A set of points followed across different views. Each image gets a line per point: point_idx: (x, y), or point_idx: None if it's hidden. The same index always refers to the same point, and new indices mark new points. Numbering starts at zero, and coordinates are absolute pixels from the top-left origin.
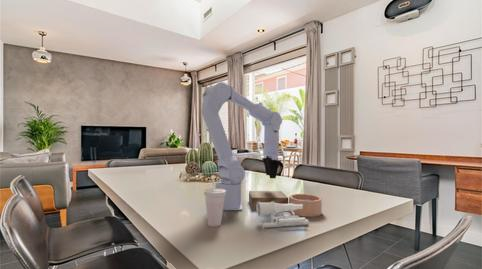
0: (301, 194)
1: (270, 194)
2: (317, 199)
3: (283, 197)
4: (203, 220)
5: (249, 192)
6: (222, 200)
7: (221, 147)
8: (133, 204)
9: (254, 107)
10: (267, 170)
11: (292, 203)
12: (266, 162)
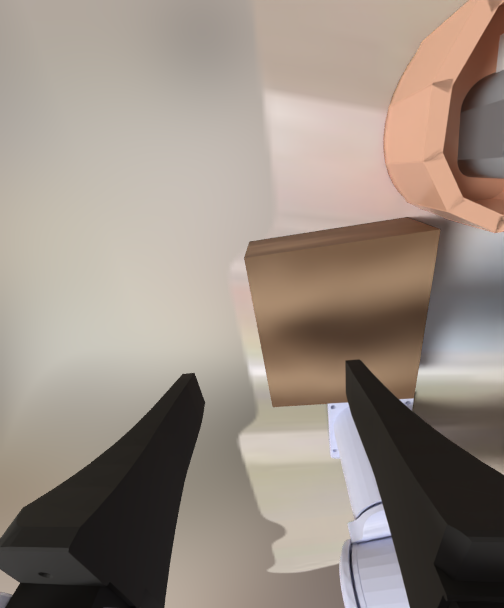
0: (447, 118)
1: (345, 323)
2: None
3: (429, 259)
4: (490, 464)
5: (298, 404)
6: None
7: None
8: (334, 561)
9: None
10: (190, 433)
11: None
12: (164, 530)
